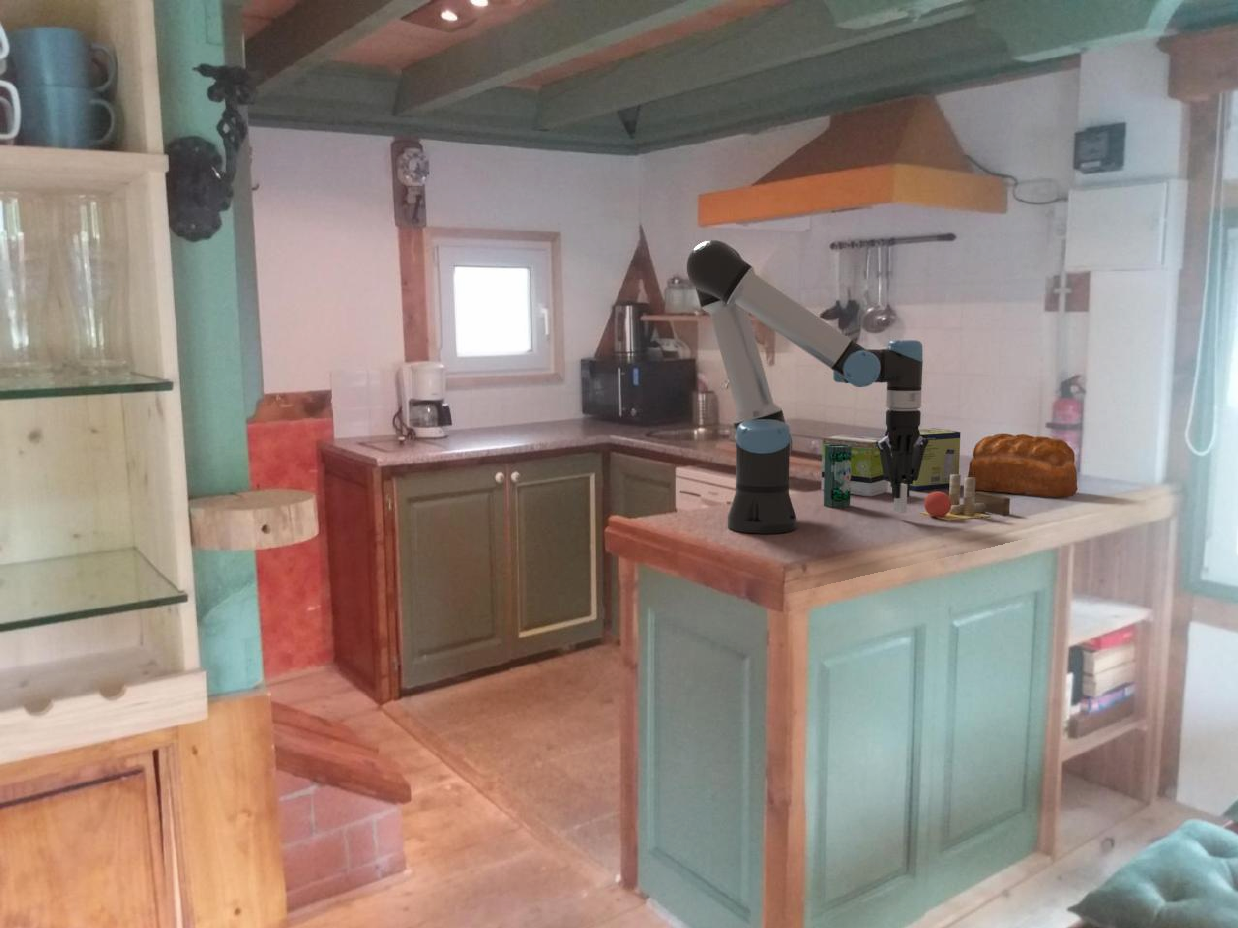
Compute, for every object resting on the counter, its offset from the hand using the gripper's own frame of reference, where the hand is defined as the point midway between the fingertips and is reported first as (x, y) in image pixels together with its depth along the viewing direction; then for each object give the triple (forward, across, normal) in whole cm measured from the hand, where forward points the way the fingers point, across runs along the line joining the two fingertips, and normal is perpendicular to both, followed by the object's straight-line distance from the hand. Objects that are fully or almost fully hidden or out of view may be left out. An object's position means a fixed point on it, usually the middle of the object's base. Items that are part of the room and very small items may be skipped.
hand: (900, 511), depth 222 cm
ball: (-1, +10, 0) cm, 10 cm away
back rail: (+2, +26, 0) cm, 26 cm away
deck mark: (+2, +16, 0) cm, 16 cm away
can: (+2, -3, +21) cm, 21 cm away
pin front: (+1, +15, 0) cm, 15 cm away
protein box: (+2, +35, +36) cm, 50 cm away
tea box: (+2, +13, +37) cm, 39 cm away
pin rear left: (+2, +17, +2) cm, 18 cm away
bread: (+2, +54, +20) cm, 57 cm away
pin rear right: (+2, +17, -2) cm, 18 cm away
